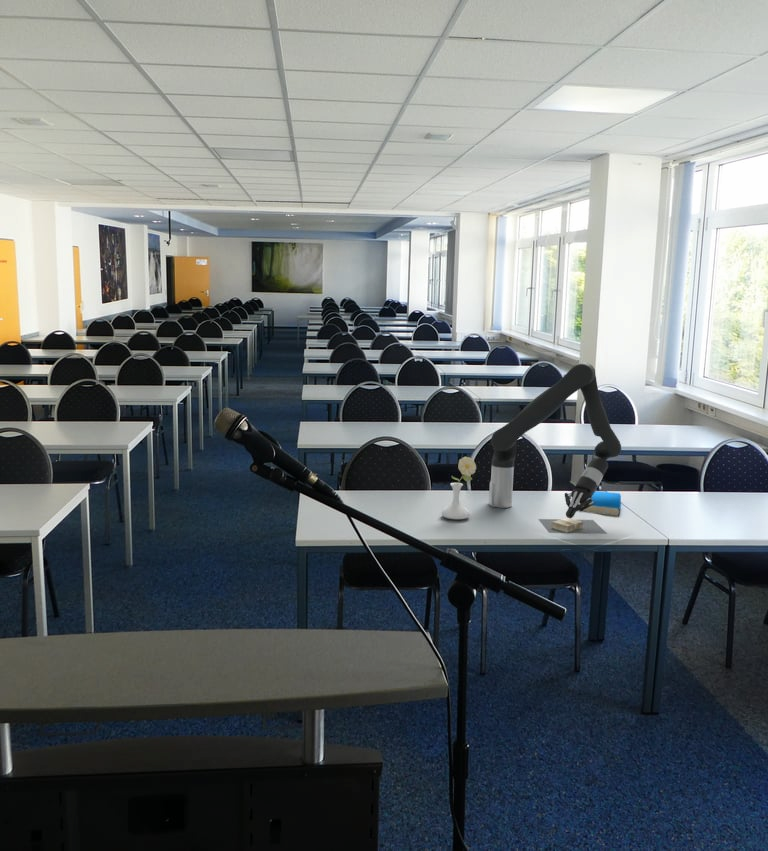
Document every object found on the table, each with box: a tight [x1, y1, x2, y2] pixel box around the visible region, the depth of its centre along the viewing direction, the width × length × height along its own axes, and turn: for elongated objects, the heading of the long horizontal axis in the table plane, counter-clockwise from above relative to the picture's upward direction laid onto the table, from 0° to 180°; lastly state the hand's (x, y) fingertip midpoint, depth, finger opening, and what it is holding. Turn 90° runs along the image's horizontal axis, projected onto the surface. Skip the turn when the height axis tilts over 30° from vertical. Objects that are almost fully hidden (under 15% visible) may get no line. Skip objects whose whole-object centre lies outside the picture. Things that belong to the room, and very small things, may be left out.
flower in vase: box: [440, 456, 477, 520], centre depth 311 cm, size 13×11×25 cm
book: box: [582, 490, 622, 516], centre depth 336 cm, size 17×4×25 cm
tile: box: [552, 517, 583, 532], centre depth 301 cm, size 2×7×10 cm
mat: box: [538, 518, 608, 535], centre depth 304 cm, size 22×18×1 cm
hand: (568, 516), depth 301 cm, fingers closed
